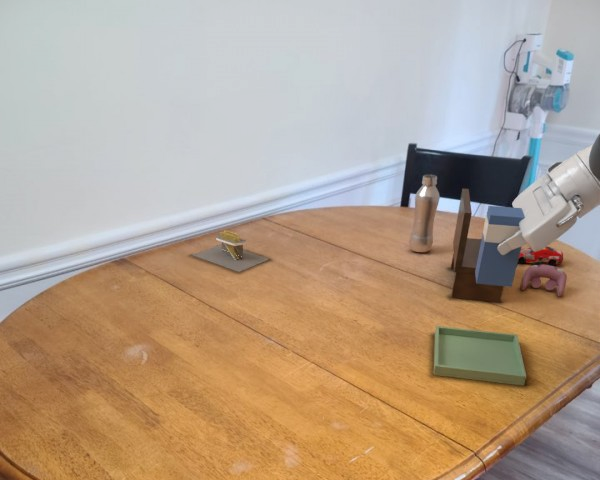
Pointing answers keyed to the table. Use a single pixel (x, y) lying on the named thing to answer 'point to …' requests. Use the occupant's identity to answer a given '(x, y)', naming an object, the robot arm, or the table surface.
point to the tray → (478, 355)
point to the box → (490, 261)
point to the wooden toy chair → (469, 260)
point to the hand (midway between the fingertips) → (497, 243)
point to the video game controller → (545, 271)
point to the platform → (231, 253)
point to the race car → (541, 256)
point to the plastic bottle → (424, 215)
